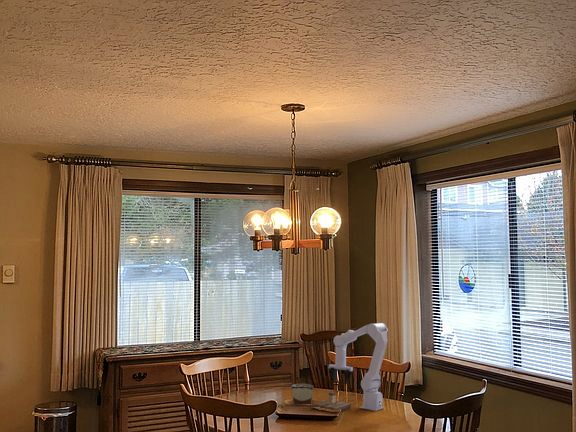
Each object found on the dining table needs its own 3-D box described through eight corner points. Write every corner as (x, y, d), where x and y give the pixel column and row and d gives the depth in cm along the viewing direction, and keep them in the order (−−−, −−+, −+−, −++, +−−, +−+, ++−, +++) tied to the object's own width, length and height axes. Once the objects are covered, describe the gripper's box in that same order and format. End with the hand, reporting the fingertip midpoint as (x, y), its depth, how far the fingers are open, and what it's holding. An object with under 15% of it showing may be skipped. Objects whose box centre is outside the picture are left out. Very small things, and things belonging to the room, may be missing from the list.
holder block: (350, 408, 310) (350, 403, 310) (335, 413, 299) (335, 408, 299) (328, 404, 318) (328, 399, 319) (312, 408, 307) (312, 403, 308)
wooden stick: (335, 408, 309) (335, 392, 310) (332, 409, 307) (332, 393, 308) (331, 408, 310) (331, 392, 311) (328, 408, 308) (328, 393, 309)
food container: (314, 403, 321) (314, 384, 322) (313, 405, 315) (314, 386, 316) (291, 402, 323) (291, 383, 324) (290, 404, 316) (290, 385, 317)
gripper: (325, 357, 329) (325, 382, 328) (348, 359, 320) (347, 385, 319) (332, 355, 335) (332, 380, 333) (355, 358, 326) (354, 384, 324)
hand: (340, 383), depth 326 cm, fingers open, 7 cm apart
